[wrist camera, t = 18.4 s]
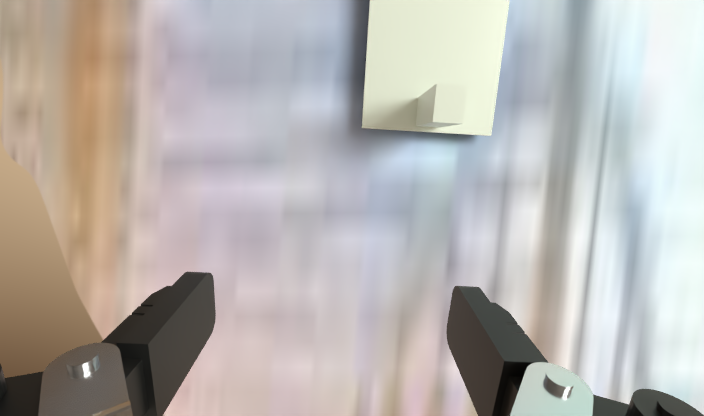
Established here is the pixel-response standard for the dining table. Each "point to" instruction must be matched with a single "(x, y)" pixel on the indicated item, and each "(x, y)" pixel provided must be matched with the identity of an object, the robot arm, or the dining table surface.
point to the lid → (433, 65)
